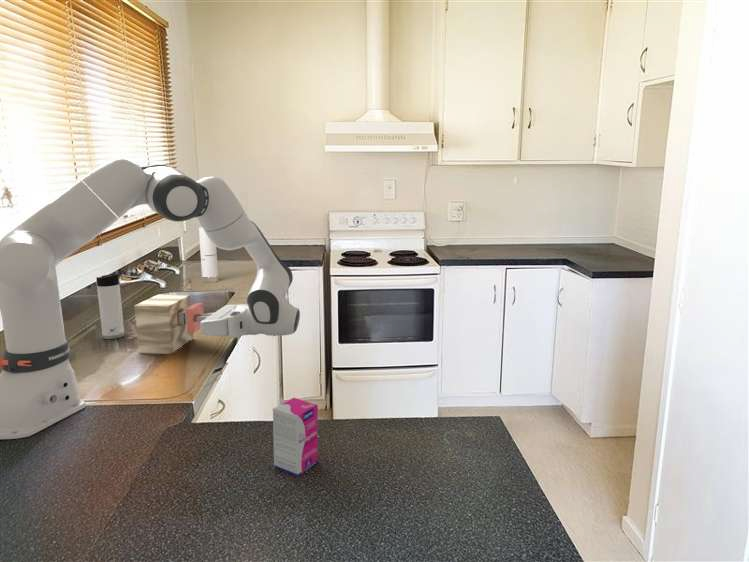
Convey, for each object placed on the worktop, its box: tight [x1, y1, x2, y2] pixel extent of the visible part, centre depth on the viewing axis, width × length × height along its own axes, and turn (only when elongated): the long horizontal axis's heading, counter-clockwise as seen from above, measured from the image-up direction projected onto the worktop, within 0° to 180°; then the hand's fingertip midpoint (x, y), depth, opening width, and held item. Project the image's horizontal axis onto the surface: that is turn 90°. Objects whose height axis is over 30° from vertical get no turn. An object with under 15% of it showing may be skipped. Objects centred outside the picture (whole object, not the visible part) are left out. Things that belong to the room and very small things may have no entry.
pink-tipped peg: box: [177, 302, 204, 334], centre depth 161 cm, size 7×14×7 cm, turn 84°
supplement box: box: [272, 397, 319, 477], centre depth 97 cm, size 6×6×12 cm
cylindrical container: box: [198, 226, 219, 278], centre depth 251 cm, size 7×7×25 cm
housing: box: [133, 293, 194, 355], centre depth 162 cm, size 14×10×14 cm
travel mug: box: [96, 273, 125, 340], centre depth 171 cm, size 6×7×20 cm
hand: (198, 317), depth 161 cm, fingers closed, pressing on pink-tipped peg
